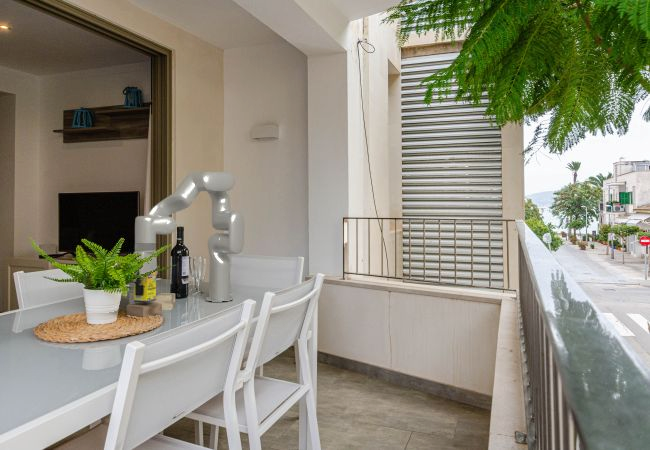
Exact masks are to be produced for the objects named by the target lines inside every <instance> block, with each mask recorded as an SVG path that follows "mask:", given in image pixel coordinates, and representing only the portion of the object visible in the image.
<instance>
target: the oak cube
mask: <svg viewBox="0 0 650 450" xmlns="http://www.w3.org/2000/svg"><path fill="white" fill-rule="evenodd" d="M156 303H161V304H162V311H171V310H173V309H174V308H175V307H176V293H167V292H166V293H164V292H163V293H159V294H156Z"/></svg>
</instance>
